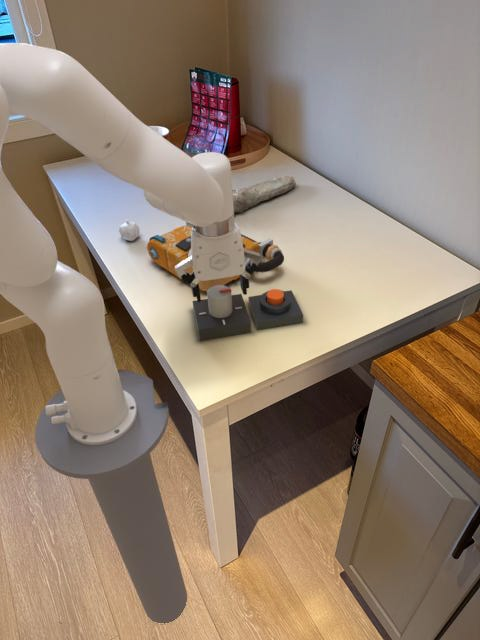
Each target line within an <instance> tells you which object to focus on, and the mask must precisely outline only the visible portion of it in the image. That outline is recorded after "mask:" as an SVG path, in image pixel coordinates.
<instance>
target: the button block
mask: <svg viewBox="0 0 480 640" xmlns="http://www.w3.org/2000/svg"><path fill="white" fill-rule="evenodd" d="M268 291H269V290H267V291H264V292H263V293H262V294H259V295H252V296H248V306H249V309H250V312H251V315H252V318H253V320H254V321H253V322H254V323H255V327H256V329H257V330H265V329H272V328H278V327H283V326H290V325H297V324H302V323H303V322H304V314H303V311H302V309H301V307H300V304H299V303H298V301H297V298H296V296H295V294H294V293H293V290H291V289H290V290H285V291H284V290H281V291H282V292H283V293H284V301H283V303H282V304H280V305H271V304H269V303H268V302H267V292H268Z"/></svg>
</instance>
